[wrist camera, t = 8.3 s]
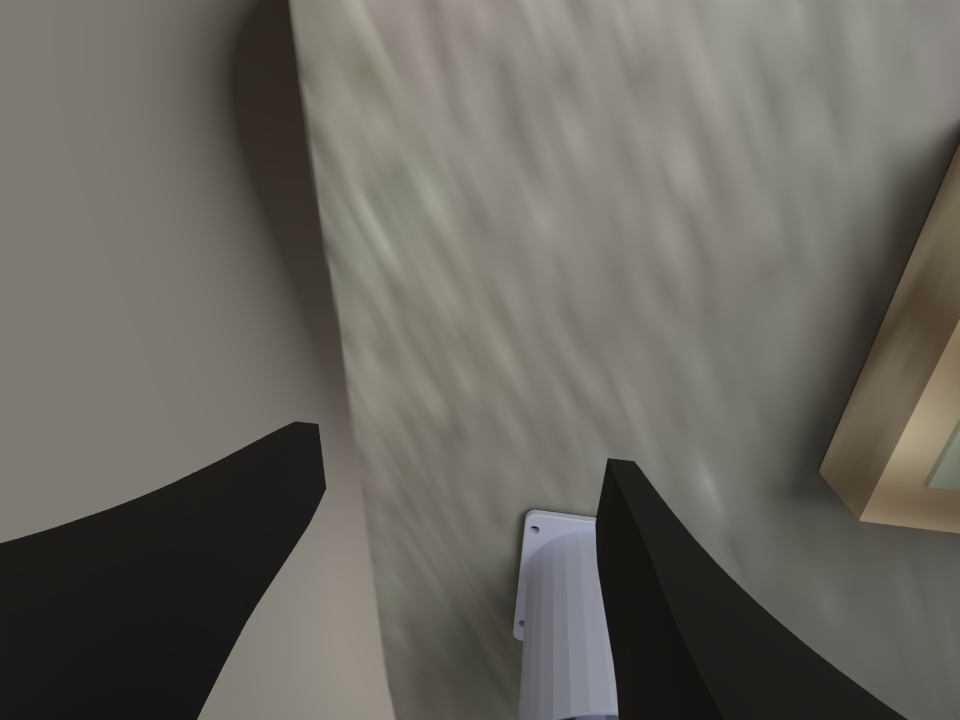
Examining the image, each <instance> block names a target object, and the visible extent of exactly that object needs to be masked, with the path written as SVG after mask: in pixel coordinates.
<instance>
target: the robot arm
mask: <svg viewBox="0 0 960 720" xmlns="http://www.w3.org/2000/svg"><path fill="white" fill-rule="evenodd" d="M325 490H326V483H325V475H324V467H323V459H322V450H321V443H320V434H319V426H318V424H313V423H304V422H293V423H291V424H289V425H287V426H284V427H282V428H280V429H278V430H276V431H274V432H272V433H271V434H269V435H267V436H265V437H263V438H261V439H259V440H257V441H255V442H253V443H252V444H250V445H248V446H246V447H244V448H242V449H240V450H238V451H236V452H235V453H233V454H231V455H229V456H227V457H225V458H223V459H221V460H219V461H217V462H215V463H213V464H211V465H209V466H207V467H205V468H203V469H201V470H199V471H197V472H194V473H192V474H190V475H189V476H186V477H184V478H182V479H180V480H178V481H176V482H174V483H172V484H169V485H167V486H165V487H163V488H160V489H158V490H156V491H153V492H151V493H149V494H146V495H144V496H141V497H139V498H136V499H134V500H131V501H129V502H126V503H124V504H121V505H119V506H116V507H113V508H110V509H108V510H105V511H102V512H99V513H96V514H93V515H90V516H87V517H84V518H81V519H78V520H75V521H73V522H70V523H67V524H64V525H61V526H58V527H55V528H52V529H49V530H45V531H42V532H39V533H35V534H32V535H28V536H25V537H22V538H18V539H15V540H11V541H7V542H4V543H0V720H197V719H198V716H199V714H200V712H201V710H202V708H203V706H204V704H205V702H206V700H207V698H208V696H209V694H210V692H211V690H212V688H213V686H214V684H215V682H216V680H217V678H218V676H219V674H220V672H221V670H222V668H223V666H224V664H225V662H226V660H227V658H228V656H229V654H230V652H231V650H232V649H233V647H234V645H235V643H236V641H237V639H238V637H239V635H240V633H241V631H242V629H243V628H244V626H245V624H246V622H247V620H248V619H249V617H250V615H251V614H252V612H253V610H254V609H255V607H256V605H257V604H258V602H259V601H260V599H261V598H262V596H263V595H264V593H265V592H266V590H267V588H268V587H269V585H270V584H271V582H272V580H273V579H274V578H275V576H276V575H277V573H278V572H279V570H280V569H281V567H282V566H283V564H284V562H285V561H286V559H287V558H288V556H289V554H290V553H291V552H292V550H293V549H294V547H295V546H296V544H297V542H298V541H299V539H300V538H301V536H302V535H303V533H304V532H305V530H306V528H307V526H308V525H309V524H310V521H311V519H312V517H313V515H314V513H315V511H316V509H317V507H318V505H319V503H320V501H321V499H322V496H323V494H324V492H325ZM532 526H536V527H538V528H532ZM513 636H514V637H515V638H516V639H518V640H521V641H523V654H522V670H521V687H520V704H519V720H908V719H906V718H905V717H903V716H902V715H900V714H899V713H897V712H896V711H894V710H893V709H891V708H890V707H888V706H887V705H885V704H884V703H883V702H881V701H880V700H878V699H877V698H876V697H874V696H873V695H872V694H870V693H869V692H867V691H866V690H865V689H863V688H862V687H861V686H859V685H858V684H857V683H855V682H854V681H853V680H851V679H850V678H849V677H847V676H846V675H845V674H843V673H842V672H841V671H839V670H838V669H836V668H835V667H834V666H833V665H831V664H830V663H829V662H827V661H826V660H825V659H824V658H822V657H821V656H820V655H819V654H817V653H816V652H815V651H813V650H812V649H811V648H810V647H808V646H807V645H806V644H805V643H804V642H802V641H801V640H800V639H799V638H798V637H796V636H795V635H794V634H793V633H792V632H790V631H789V630H788V629H787V628H786V627H785V626H783V625H782V624H781V623H780V622H779V621H777V620H776V619H775V618H774V617H773V616H772V615H770V614H769V613H768V612H767V611H766V610H765V609H764V608H763V607H761V606H760V605H759V604H758V603H757V602H756V601H755V600H754V599H753V598H752V597H751V596H750V595H749V594H748V593H747V592H745V591H744V590H743V589H742V588H741V587H740V586H739V585H738V584H737V583H736V582H735V581H734V580H733V579H732V578H731V577H730V576H729V575H728V574H727V573H726V572H725V571H724V570H723V569H722V568H721V567H720V566H719V565H718V564H717V563H716V562H715V561H714V560H713V559H712V558H711V556H710V555H709V554H708V553H707V552H706V551H705V550H704V549H703V548H702V547H701V545H700V544H699V543H698V542H697V541H696V540H695V539H694V538H693V536H692V535H691V534H690V533H689V532H688V530H687V529H686V528H685V527H684V525H683V524H682V523H681V522H680V521H679V519H678V518H677V517H676V516H675V514H674V513H673V512H672V511H671V509H670V508H669V507H668V506H667V504H666V503H665V502H664V500H663V499H662V498H661V496H660V495H659V494H658V492H657V491H656V490H655V488H654V487H653V486H652V484H651V483H650V482H649V480H648V479H647V477H646V476H645V475H644V473H643V472H642V471H641V469H640V468H639V467H638V465H637V464H636V463H635V462H634V461H627V460H618V459H610V458H608V460H607V465H606V470H605V476H604V481H603V486H602V491H601V497H600V502H599V507H598V512H597V517H596V518H594V517H587V516H579V515H572V514H564V513H556V512H549V511H541V510H531V511H529V512H528V513H527V514H526V517H525V526H524V535H523V544H522V554H521V563H520V572H519V581H518V591H517V600H516V609H515V618H514V628H513Z"/></svg>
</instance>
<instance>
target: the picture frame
mask: <svg viewBox="0 0 960 720" xmlns="http://www.w3.org/2000/svg"><path fill="white" fill-rule="evenodd" d="M818 472H819V473H820V474H821V476H822V477H823V478H824V479H825V480H826V482H827V483H828V484H829V485H830V486H831V488H832V489H833V490H834V491H835V493H836V494H837V495H838V496H839V497H840V499H841V500H842V501H843V502H844V504H845V505H846V506H847V507H848V508H849V510H850V511H851V512H852V513H853V514H854V516H855V517H856V518H857V519H858V521H864V522H872V523H880V524H888V525H896V526H904V527H912V528H920V529H928V530H936V531H944V532H952V533H960V142H959V145H958V147H957V149H956V152H955V154H954V156H953V159H952V161H951V163H950V166H949V168H948V170H947V173H946V175H945V177H944V180H943V182H942V184H941V187H940V189H939V191H938V194H937V196H936V198H935V201H934V203H933V205H932V208H931V210H930V212H929V215H928V217H927V219H926V222H925V224H924V226H923V229H922V231H921V233H920V236H919V238H918V240H917V243H916V245H915V247H914V250H913V252H912V254H911V257H910V259H909V261H908V264H907V266H906V268H905V271H904V273H903V275H902V278H901V280H900V282H899V285H898V287H897V289H896V292H895V294H894V296H893V299H892V301H891V303H890V306H889V308H888V310H887V313H886V315H885V317H884V320H883V322H882V324H881V327H880V329H879V331H878V334H877V336H876V338H875V341H874V343H873V345H872V348H871V350H870V352H869V355H868V357H867V359H866V362H865V364H864V366H863V369H862V371H861V373H860V376H859V378H858V380H857V383H856V385H855V387H854V390H853V392H852V394H851V397H850V399H849V401H848V404H847V406H846V408H845V411H844V413H843V415H842V418H841V420H840V422H839V425H838V427H837V429H836V432H835V434H834V436H833V439H832V441H831V443H830V446H829V448H828V450H827V453H826V455H825V457H824V460H823V462H822V464H821V467H820V469H819V471H818Z"/></svg>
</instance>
